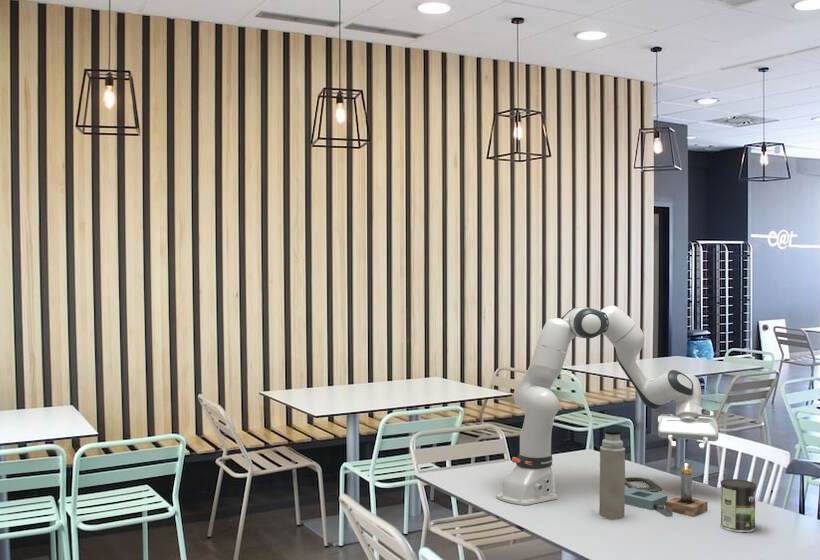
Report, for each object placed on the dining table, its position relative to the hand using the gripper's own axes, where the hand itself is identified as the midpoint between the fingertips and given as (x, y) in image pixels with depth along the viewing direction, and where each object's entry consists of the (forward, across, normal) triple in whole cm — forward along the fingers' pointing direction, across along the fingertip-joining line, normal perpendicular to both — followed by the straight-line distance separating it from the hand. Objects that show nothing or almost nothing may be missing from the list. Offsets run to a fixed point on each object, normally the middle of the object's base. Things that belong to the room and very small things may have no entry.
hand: (687, 448), depth 294 cm
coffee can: (+31, +15, -4) cm, 35 cm away
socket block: (+21, 0, +5) cm, 22 cm away
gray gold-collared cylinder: (+21, 0, +5) cm, 22 cm away
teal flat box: (+18, -15, +8) cm, 25 cm away
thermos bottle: (+31, -23, -5) cm, 39 cm away
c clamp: (+4, -18, +23) cm, 30 cm away
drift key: (+25, -7, +1) cm, 26 cm away
